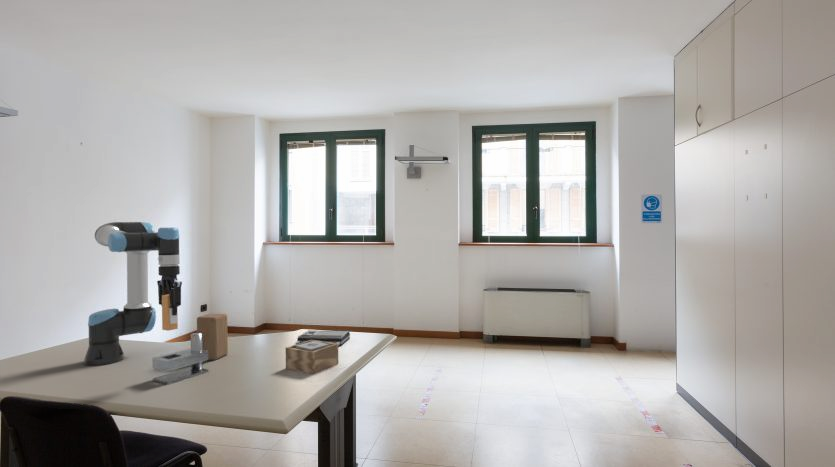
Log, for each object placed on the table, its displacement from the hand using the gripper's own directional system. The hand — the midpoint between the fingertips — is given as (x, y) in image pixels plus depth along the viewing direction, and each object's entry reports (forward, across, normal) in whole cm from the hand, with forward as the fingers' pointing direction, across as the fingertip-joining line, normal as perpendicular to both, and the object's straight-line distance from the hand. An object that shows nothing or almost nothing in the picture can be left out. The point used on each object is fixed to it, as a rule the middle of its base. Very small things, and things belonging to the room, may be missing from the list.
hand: (170, 322), depth 184 cm
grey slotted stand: (+23, 0, +4) cm, 23 cm away
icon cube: (+23, +40, +39) cm, 61 cm away
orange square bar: (+3, 0, 0) cm, 3 cm away
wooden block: (+23, -13, +28) cm, 39 cm away
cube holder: (+23, +39, +41) cm, 61 cm away
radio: (+24, +14, +74) cm, 79 cm away
